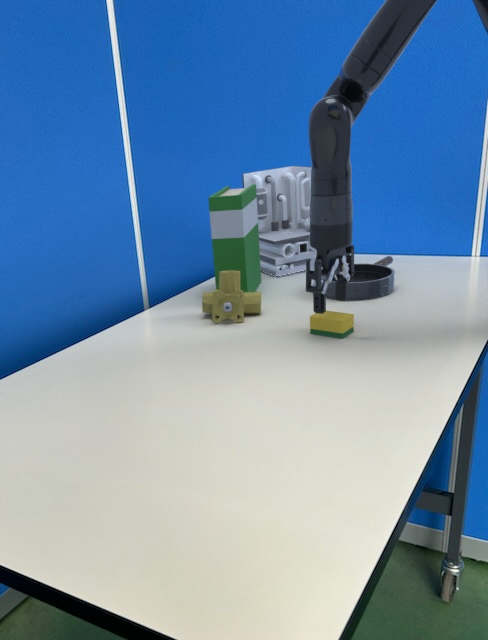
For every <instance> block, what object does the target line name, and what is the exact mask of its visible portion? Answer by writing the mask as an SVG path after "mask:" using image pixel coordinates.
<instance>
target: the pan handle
mask: <svg viewBox="0 0 488 640" xmlns="http://www.w3.org/2000/svg"><path fill="white" fill-rule="evenodd" d="M393 262H394V258H393V257H392V256H391V255H388V256H385V257H383V258H382V259H380V260H378V261H376V262H375V263H373V264H378V265H383V266H387V267H388V266H390V265H391V264H392V263H393Z"/></svg>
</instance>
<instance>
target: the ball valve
mask: <svg viewBox="0 0 488 640" xmlns="http://www.w3.org/2000/svg"><path fill="white" fill-rule="evenodd" d="M201 298H202V300H201V308H202V309H201V310H202V313H203V314H212V317H211V318H212V322H214V323H215V324H219V323H221V322H222V321H223V320H226V319H229V320H230V321H233V322H235V323H244V320H245V314H258V315H259V314H262V291H255V292H245V293H244V292H243V291H242V290H240V271H235V270H233V271H220V272H219V290H218V289H216V288H215V289H214V290H213V291H208V292H202V297H201ZM238 316H240V318H238Z"/></svg>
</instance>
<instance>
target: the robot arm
mask: <svg viewBox="0 0 488 640" xmlns="http://www.w3.org/2000/svg"><path fill="white" fill-rule="evenodd" d="M438 1H439V0H384V2H383V3H382V5H381V6H379V9H378V10H377V11H376V13H375V14H374V16H373V17H372V18H371V20H370V21H369V22H368V24H367V25H366V27H365V28H364V30H363V31H362V33H361V34H360V36H359V37H358V39H357V40H356V41H355V43H354V44H353V46H352V48H351V49H350V51H349V53H348V54H347V56H346V58H345V60H344V61H343V62H342V63H343V64H342V65H341V68H340V71H339V73H338V74H337V76H336V77H335V79H334V80H333V82H332V83H331V84H330V86H329V87H328V89H327V91H326V92H325V94H324V95H323V96H322V97H321V99H320V100H318V101H317V102H316V103H315V104H314V105H313V107H312V108H311V109H310V112H309V116H308V142H309V143H308V144H309V152H310V162H311V166H310V167H311V201H310V246H311V247H312V248H315V249H316V250H317V254H316V259H307V261H306V271H305V292H306V293H310V294H312V299H313V301H312V303H313V306H312V307H313V308H312V309H313V312H314V314H315V313H319V314H323V313H325V312H326V311H327V298H326V294H325V292H326V289H327V286H328V284H329V283H331V281H332V278H333V277H334V276H335V279H336V280H338V281H336V282H335V299H336V300H335V301H338V302H345V301H346V300H347V291H348V282H347V281H349V280H350V276H353V275H354V264H355V245H354V244H353V226H354V225H353V224H354V223H353V221H354V220H353V218H354V216H353V215H354V202H353V193H352V187H353V168H352V162H351V142H352V127H353V125H354V124H355V122H356V120H357V119H358V117H359V116H360V114H361V112H362V111H363V109H364V108H365V106H366V104H367V103H368V101H369V100H370V98H371V96H372V95H373V94H374V93H375V92H376V90H377V89H378V88H379V87H380V85H381V84H382V83H383V82H384V80H385V78H386V77H387V76H388V74H389V73H390V72H391V71H392V69H393V67H394V66H395V65H396V63H397V61H398V60H399V59H400V57H401V56H402V54H403V52H404V51H405V50H406V48H407V47H408V45H409V43H410V42H411V40H412V39H413V38H414V36H415V35H416V33H417V31H418V30H419V28H420V27H421V25H422V23H423V22H424V21H425V19H426V18H427V16H428V14H429V13H430V12H431V10H432V9H433V8H434V6H435V5H436V4H437V2H438ZM471 1H472V4H473V5H474V8H475V10H476V12H477V15H478V18H479V19H480V22H481V24H482V27H483V29H484V30H485V33H486V35H487V36H488V0H471ZM347 264H349V267H348V265H347ZM321 275H322V276H321ZM321 282H323V284H322V287H321ZM346 302H347V301H346Z"/></svg>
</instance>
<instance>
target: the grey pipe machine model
mask: <svg viewBox="0 0 488 640" xmlns="http://www.w3.org/2000/svg"><path fill="white" fill-rule="evenodd" d="M241 178H242V179H241V181H242V188H248V187H249V186H251V185H252V184H256V193H257V211H258V230H259V248H260V267H261V271H264V272H266V273H269V274H272V275H274V276H279V275H283V274H288V273H292V272H297V271H301V270H306V261H307V259H316V254H317V250H316V249H315V248H312V247H311V246H310V201H311V166H302V165H289V166H283V167H275V168H270V169H263V170H257V171H252V172H245V173H241ZM304 272H305V271H303V272H302V273H304ZM266 273H264V275H265V274H266ZM294 274H296V273H294ZM294 274H293V275H294ZM266 275H267V274H266ZM290 275H291V274H289V275H288V276H290ZM274 276H272V277H274ZM281 277H282V276H280V277H279V278H281ZM274 278H275V277H274Z"/></svg>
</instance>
